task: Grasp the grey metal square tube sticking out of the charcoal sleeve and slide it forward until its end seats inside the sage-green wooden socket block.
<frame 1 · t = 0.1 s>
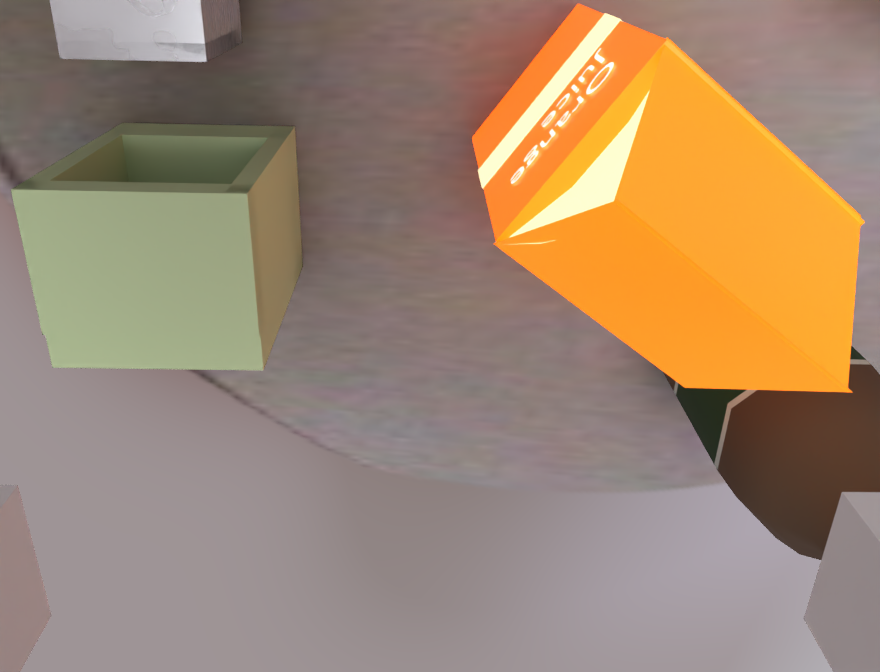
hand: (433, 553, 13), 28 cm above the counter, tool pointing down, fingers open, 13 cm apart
orange juice: (591, 131, 38), on the counter
socket: (216, 197, 39), on the counter
beer bottle: (720, 323, 43), on the counter
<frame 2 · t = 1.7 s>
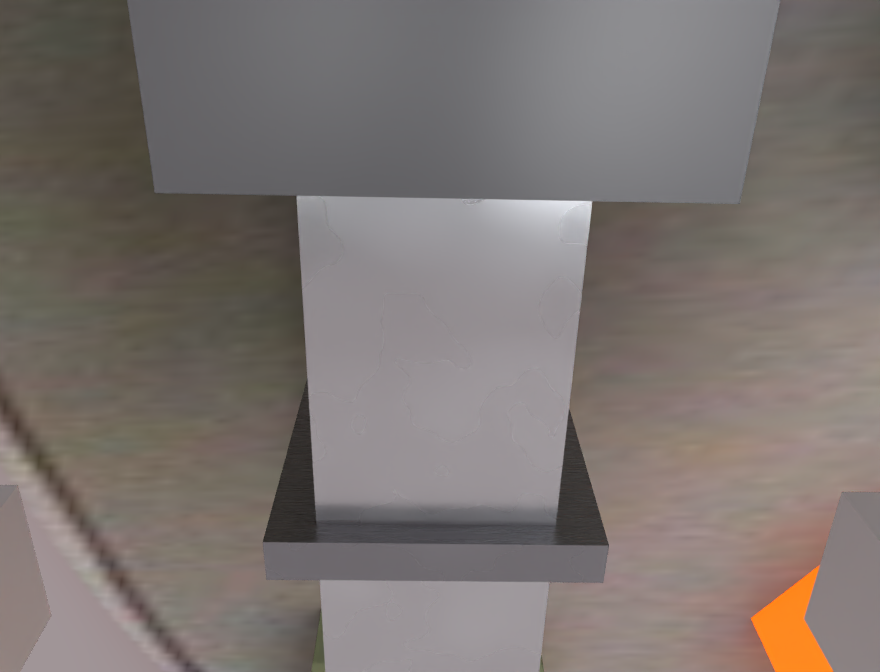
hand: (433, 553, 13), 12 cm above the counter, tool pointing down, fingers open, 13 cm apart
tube: (440, 261, 17), point 6 cm above the counter, slide at 0.0 cm
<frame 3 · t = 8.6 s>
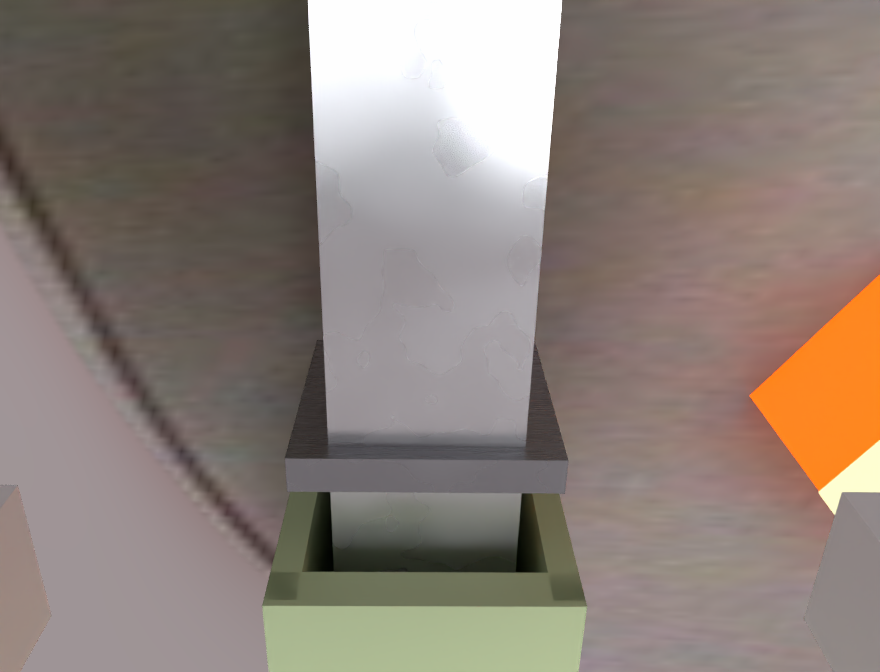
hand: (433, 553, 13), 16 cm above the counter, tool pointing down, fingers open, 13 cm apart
socket: (423, 462, 31), on the counter
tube: (429, 231, 21), point 6 cm above the counter, slide at 8.5 cm
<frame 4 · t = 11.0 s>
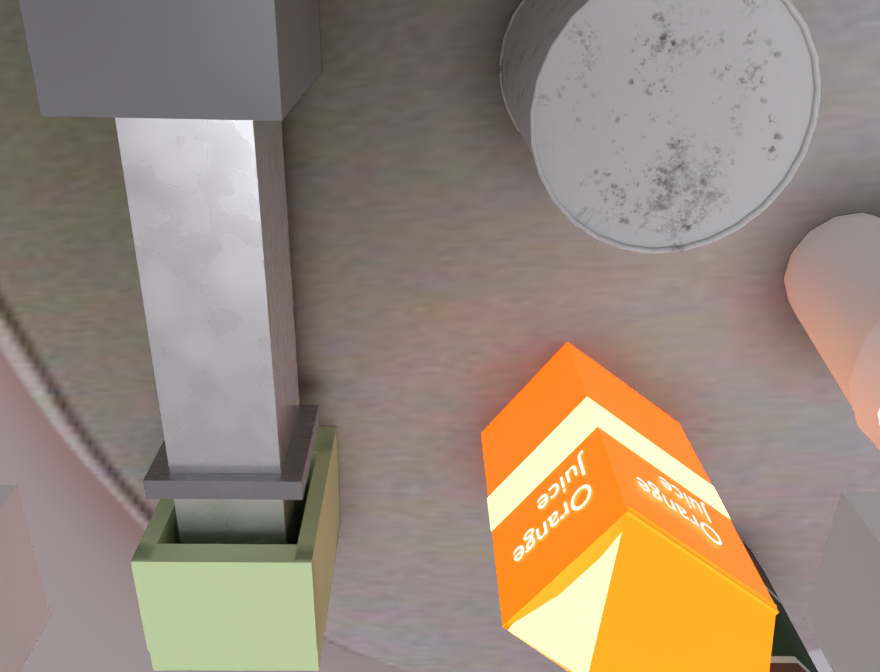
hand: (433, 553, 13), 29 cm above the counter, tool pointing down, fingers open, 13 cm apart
gray cylinder: (600, 65, 38), on the counter
orange juice: (579, 426, 46), on the counter
foam cup: (842, 269, 42), on the counter
socket: (270, 476, 47), on the counter
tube: (228, 351, 37), point 6 cm above the counter, slide at 8.5 cm
beer bottle: (688, 561, 51), on the counter
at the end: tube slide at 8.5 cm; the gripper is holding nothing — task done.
